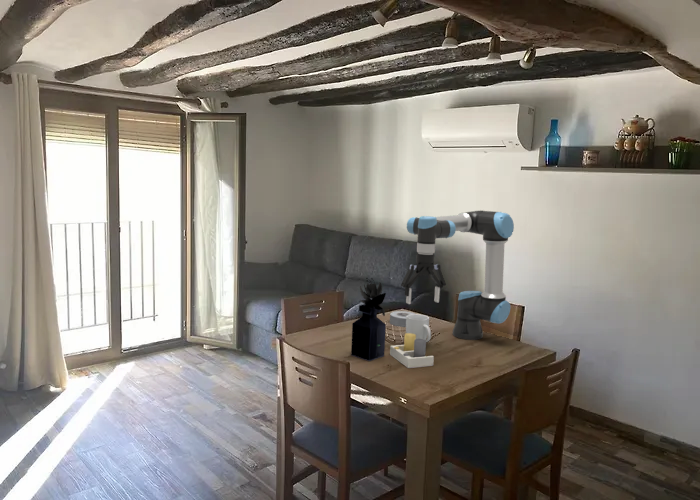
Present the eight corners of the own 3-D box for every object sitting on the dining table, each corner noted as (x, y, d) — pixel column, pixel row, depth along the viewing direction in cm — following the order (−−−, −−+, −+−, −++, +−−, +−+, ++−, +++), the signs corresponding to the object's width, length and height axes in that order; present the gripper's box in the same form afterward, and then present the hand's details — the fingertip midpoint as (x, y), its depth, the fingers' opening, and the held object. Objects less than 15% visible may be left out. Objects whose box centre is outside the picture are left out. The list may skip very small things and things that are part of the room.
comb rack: (413, 352, 250) (414, 342, 249) (433, 365, 233) (433, 355, 232) (389, 354, 245) (390, 344, 245) (408, 368, 229) (408, 357, 228)
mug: (438, 347, 259) (439, 320, 257) (420, 350, 253) (421, 323, 251) (417, 338, 271) (419, 313, 269) (400, 341, 265) (401, 315, 263)
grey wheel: (423, 324, 299) (423, 315, 298) (406, 329, 288) (406, 319, 287) (401, 318, 309) (401, 309, 309) (383, 322, 298) (384, 313, 298)
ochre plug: (411, 354, 247) (412, 332, 245) (416, 357, 242) (417, 336, 241) (401, 355, 245) (402, 333, 244) (406, 358, 240) (407, 336, 239)
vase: (391, 357, 242) (395, 279, 237) (374, 362, 233) (378, 282, 229) (366, 349, 251) (370, 274, 247) (350, 354, 243) (353, 277, 238)
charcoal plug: (421, 360, 239) (422, 338, 237) (426, 364, 234) (428, 342, 233) (411, 361, 237) (412, 339, 236) (416, 365, 232) (417, 342, 231)
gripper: (446, 251, 237) (443, 299, 240) (394, 252, 228) (392, 301, 231) (456, 254, 230) (452, 303, 233) (402, 255, 221) (400, 306, 224)
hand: (422, 302), depth 232 cm, fingers open, 13 cm apart
